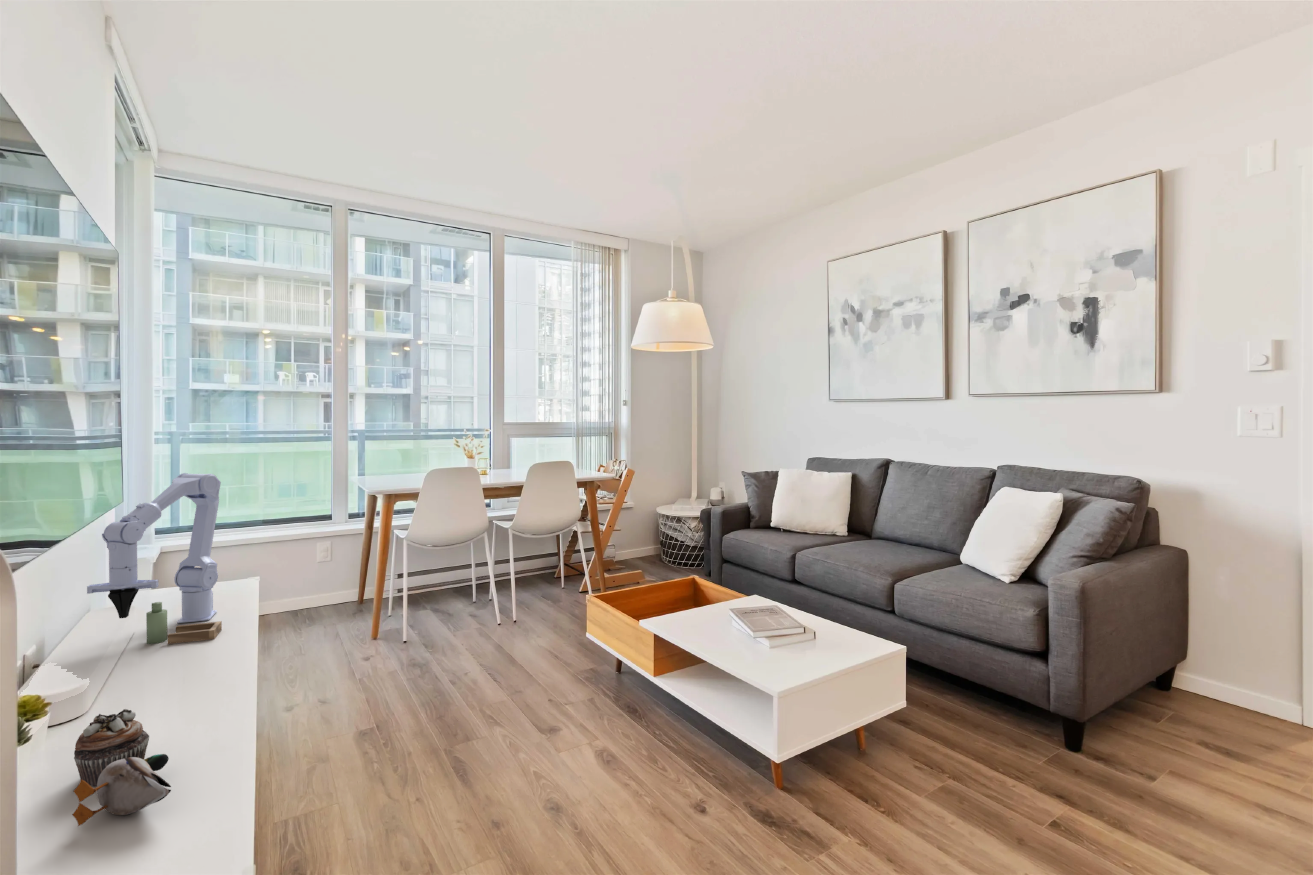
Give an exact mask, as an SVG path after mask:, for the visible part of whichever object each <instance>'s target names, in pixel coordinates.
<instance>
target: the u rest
mask: <svg viewBox="0 0 1313 875" xmlns="http://www.w3.org/2000/svg"><path fill="white" fill-rule="evenodd" d="M222 625H223V624H222V620H221V621H209V622H200V623H199V622H198V623H190V624H181V625H177V626H175V632H171V633H167V645H173V644H181V643H191V642H199V641H200V642H201V641H206V640H207V641H208V640H209V641H210V640H215V639H216V637H217V636H218V635H219V634H220V633H221V631H222V628H223V626H222Z"/></svg>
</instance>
